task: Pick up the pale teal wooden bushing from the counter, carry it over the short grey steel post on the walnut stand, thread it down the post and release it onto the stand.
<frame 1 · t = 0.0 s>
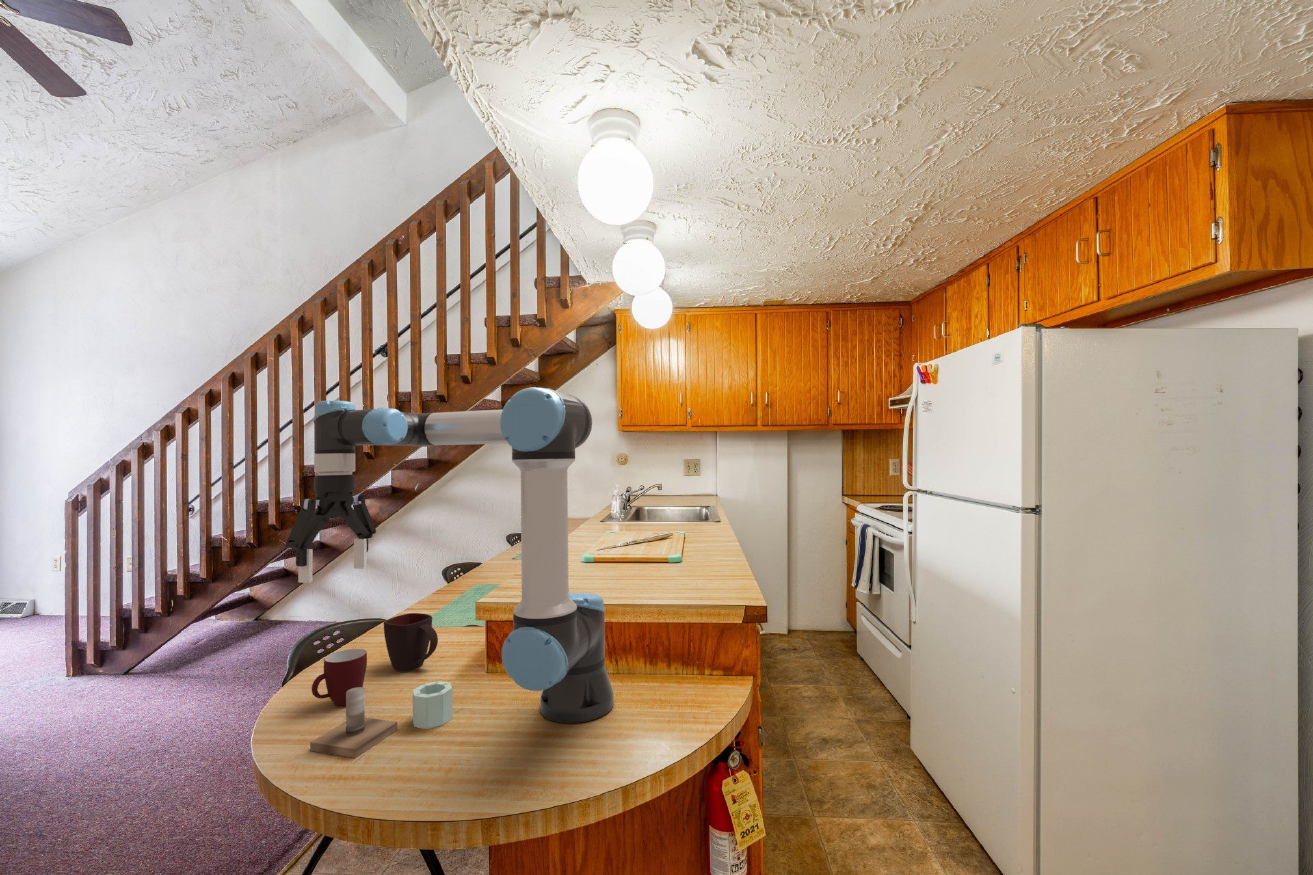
hand: (334, 574, 112), 28 cm above the counter, fingers open, 13 cm apart
ring: (432, 719, 106), on the counter
post stand: (355, 739, 99), on the counter
mug 2: (414, 669, 133), on the counter
mug: (339, 705, 114), on the counter
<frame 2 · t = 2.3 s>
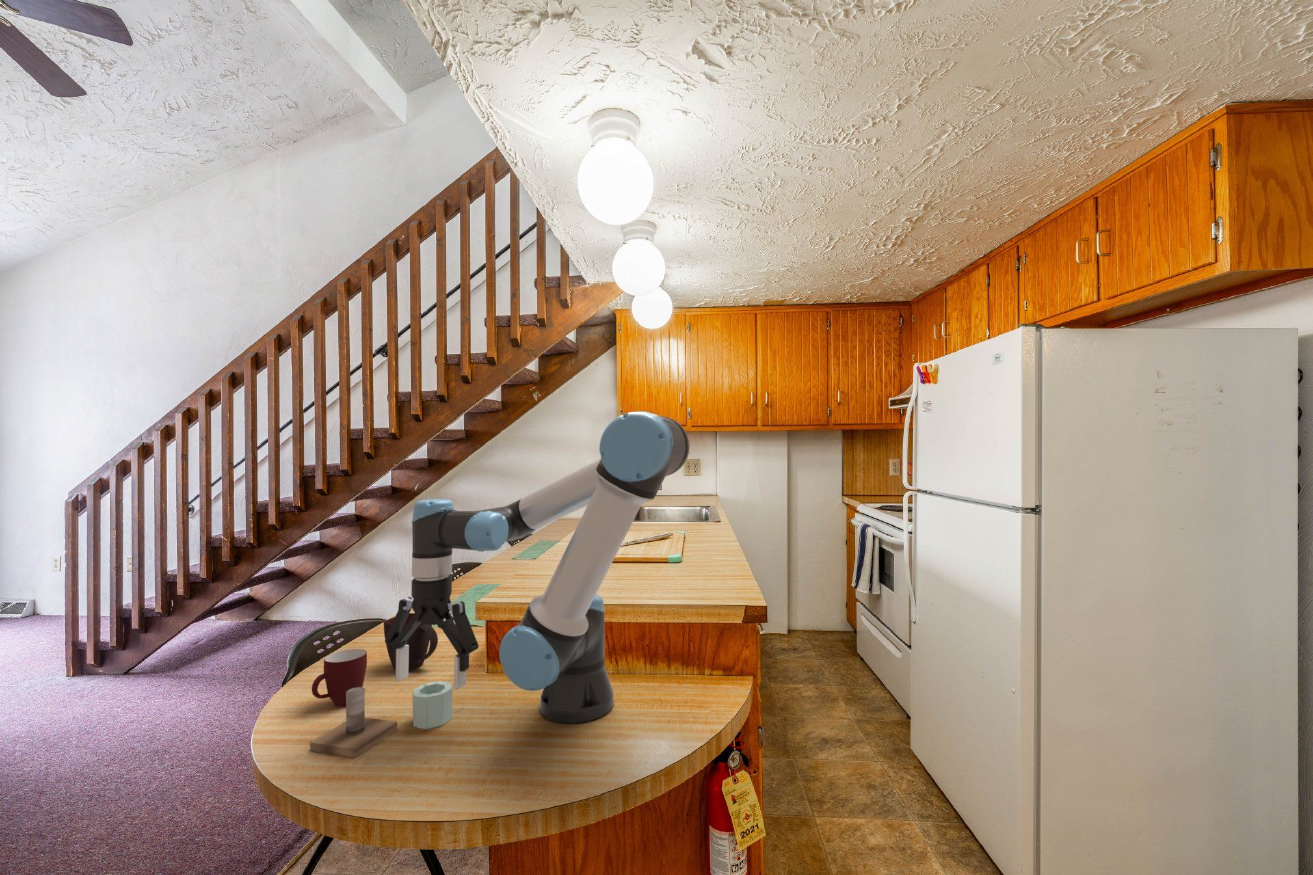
hand: (430, 683, 107), 7 cm above the counter, fingers open, 13 cm apart
nothing on the counter moved.
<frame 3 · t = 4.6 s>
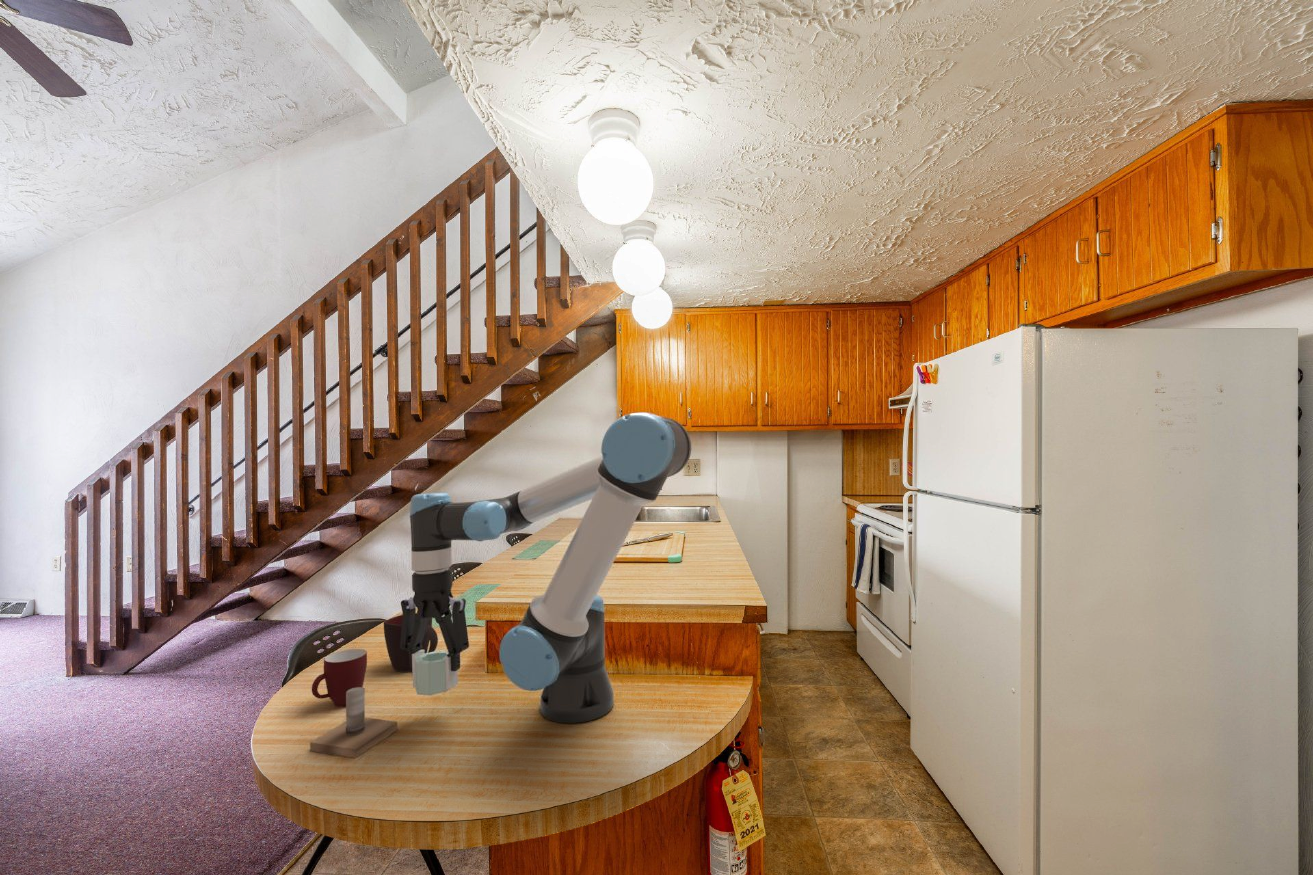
hand: (435, 685, 106), 7 cm above the counter, fingers closed on ring, 7 cm apart
ring: (435, 687, 106), point 6 cm above the counter, touching gripper
everything else where it was.
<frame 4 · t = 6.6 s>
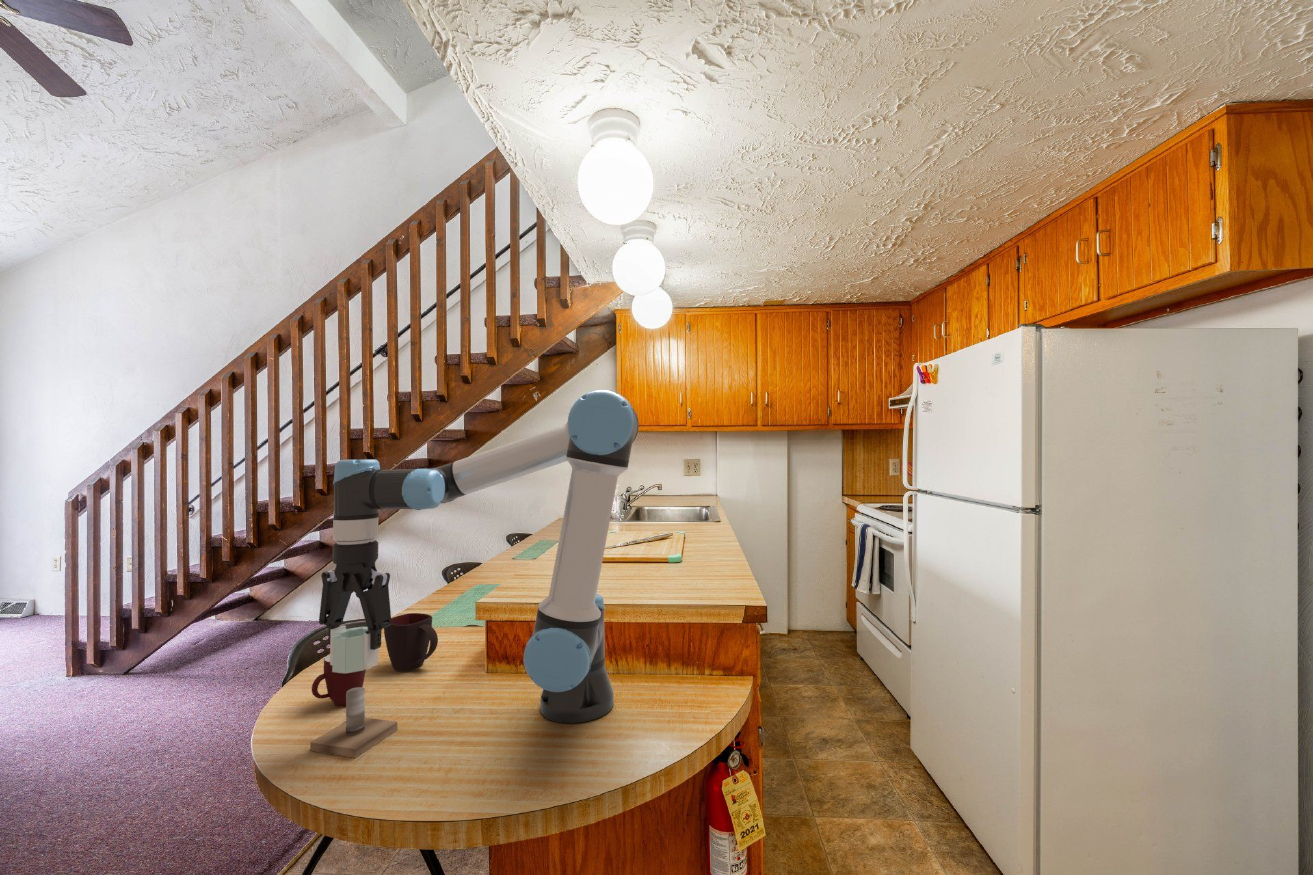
hand: (354, 664, 100), 14 cm above the counter, fingers closed on ring, 7 cm apart
ring: (354, 665, 100), point 14 cm above the counter, touching gripper
everything else where it was.
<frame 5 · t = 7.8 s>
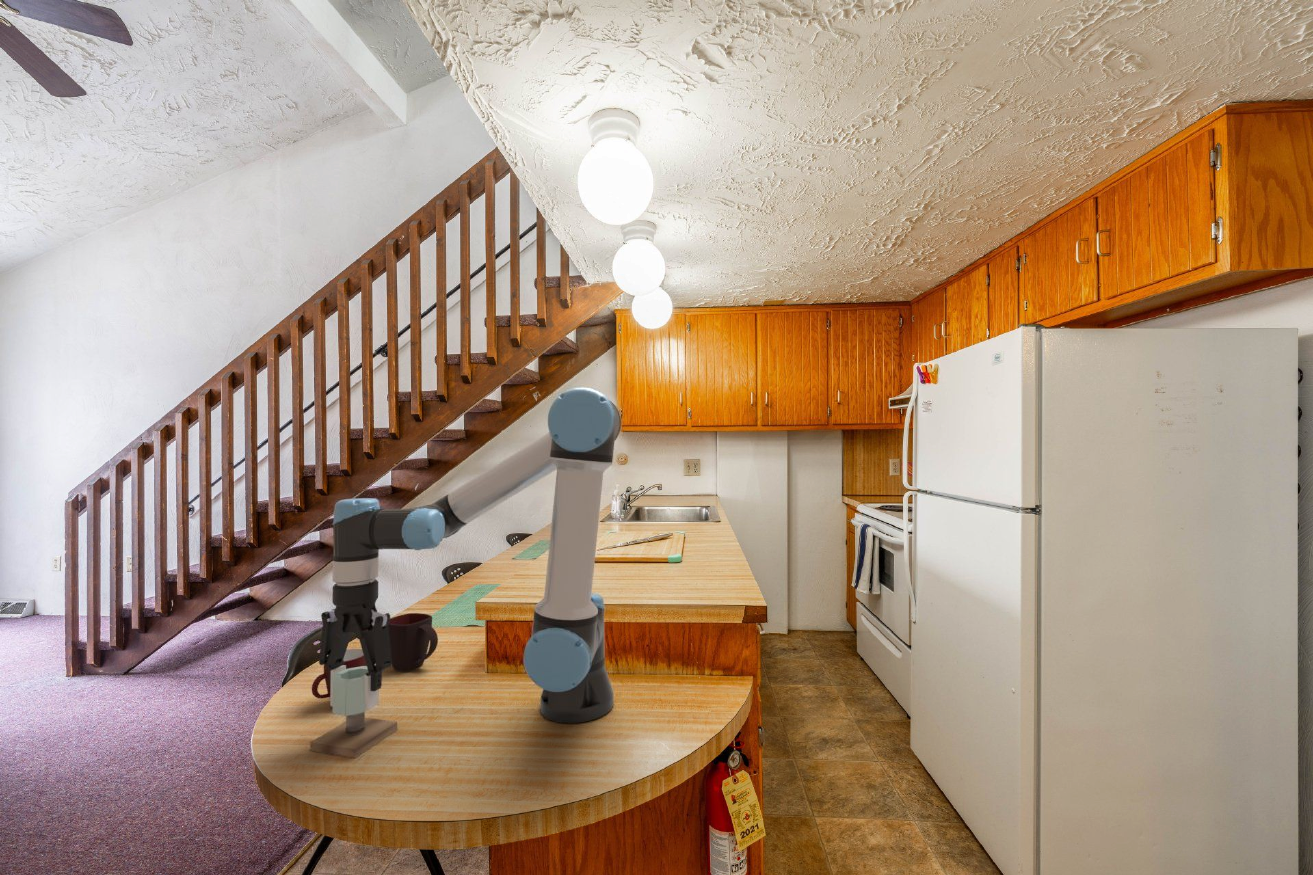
hand: (354, 704, 99), 6 cm above the counter, fingers closed on ring, 7 cm apart
ring: (354, 706, 99), point 6 cm above the counter, touching gripper
everything else where it was.
when the fingers open (4 cm above the counter, at t = 8.7 s): ring drops 2 cm, resting on post stand.
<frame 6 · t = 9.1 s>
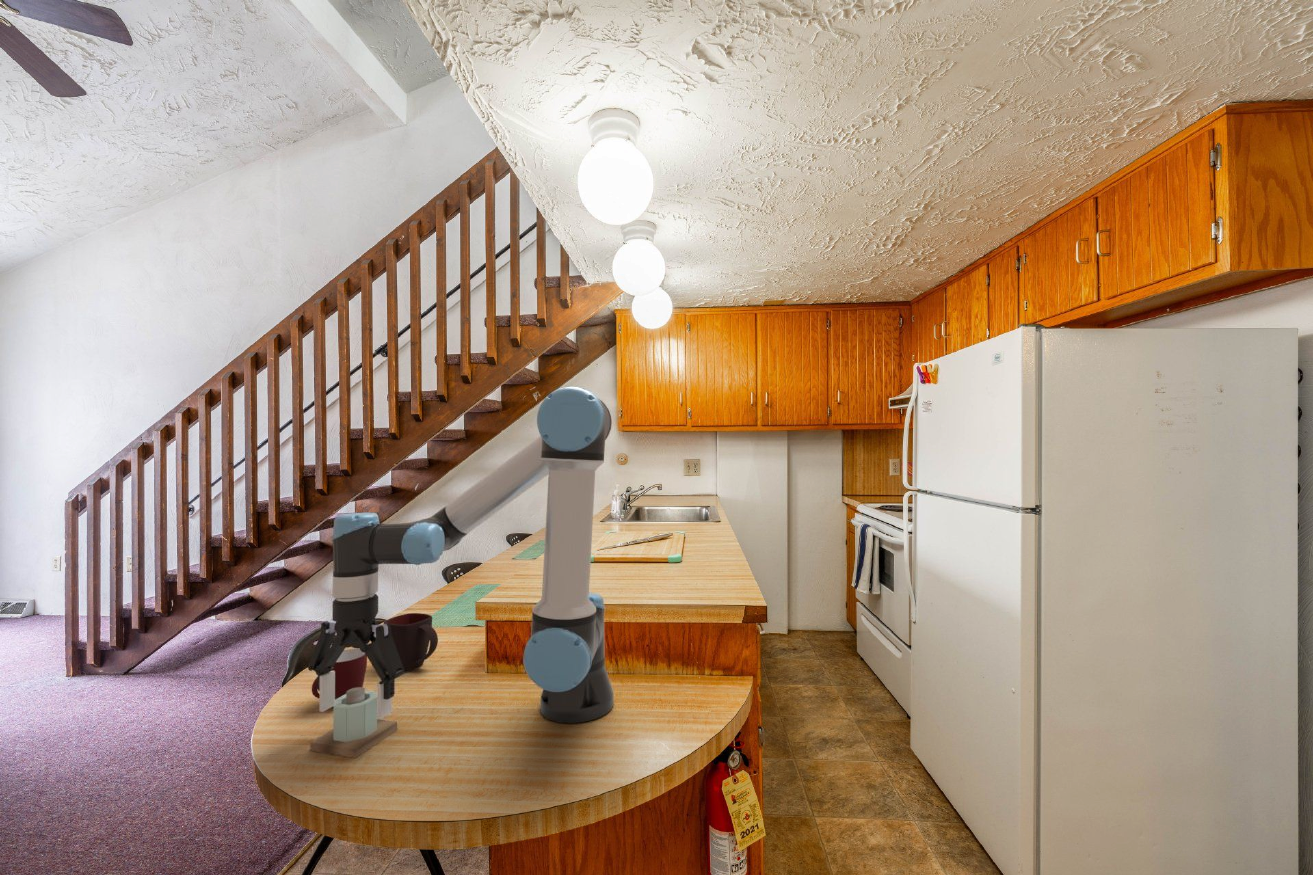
hand: (355, 712, 99), 5 cm above the counter, fingers open, 12 cm apart
ring: (355, 731, 99), point 1 cm above the counter, touching post stand
everything else where it was.
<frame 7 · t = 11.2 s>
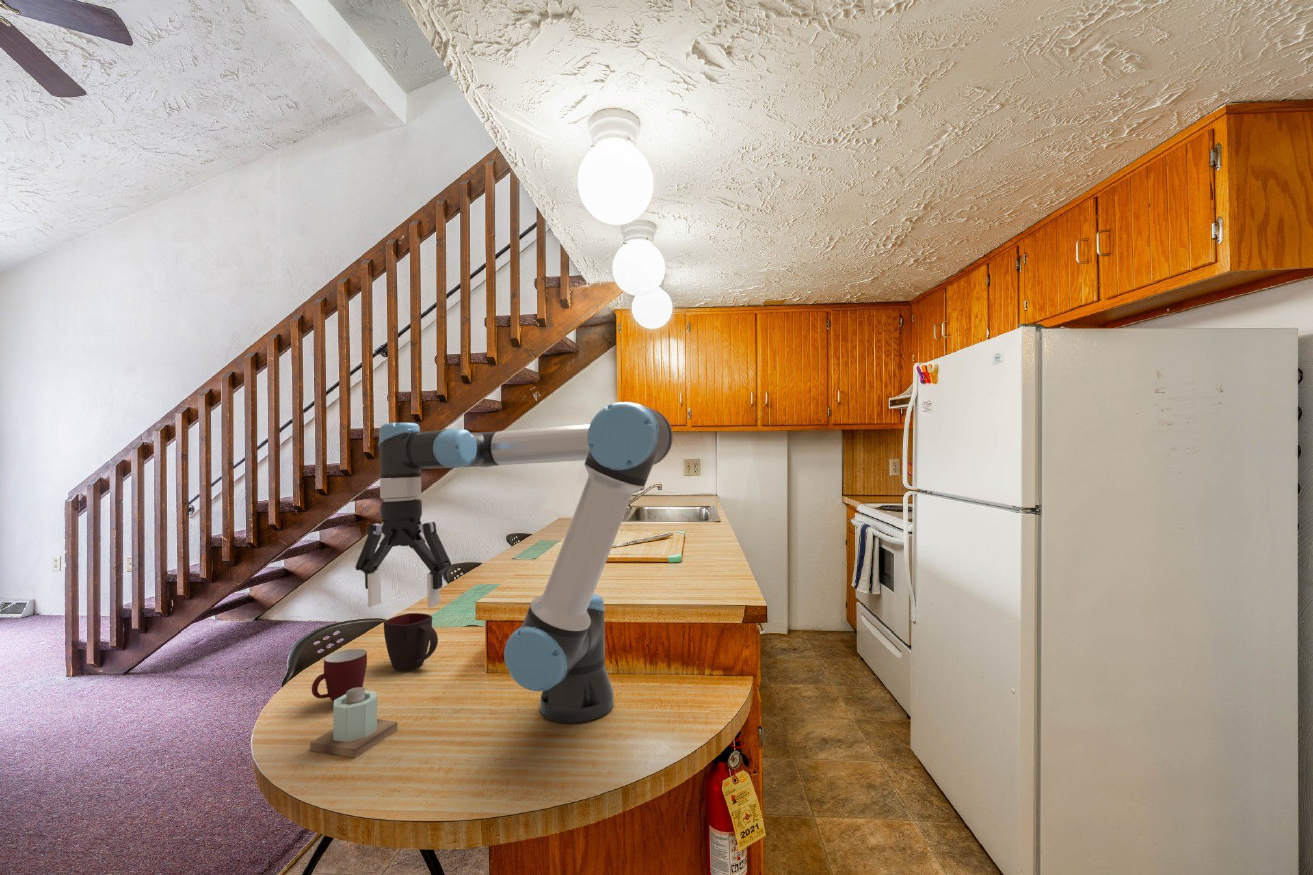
hand: (403, 605, 107), 23 cm above the counter, fingers open, 13 cm apart
nothing on the counter moved.
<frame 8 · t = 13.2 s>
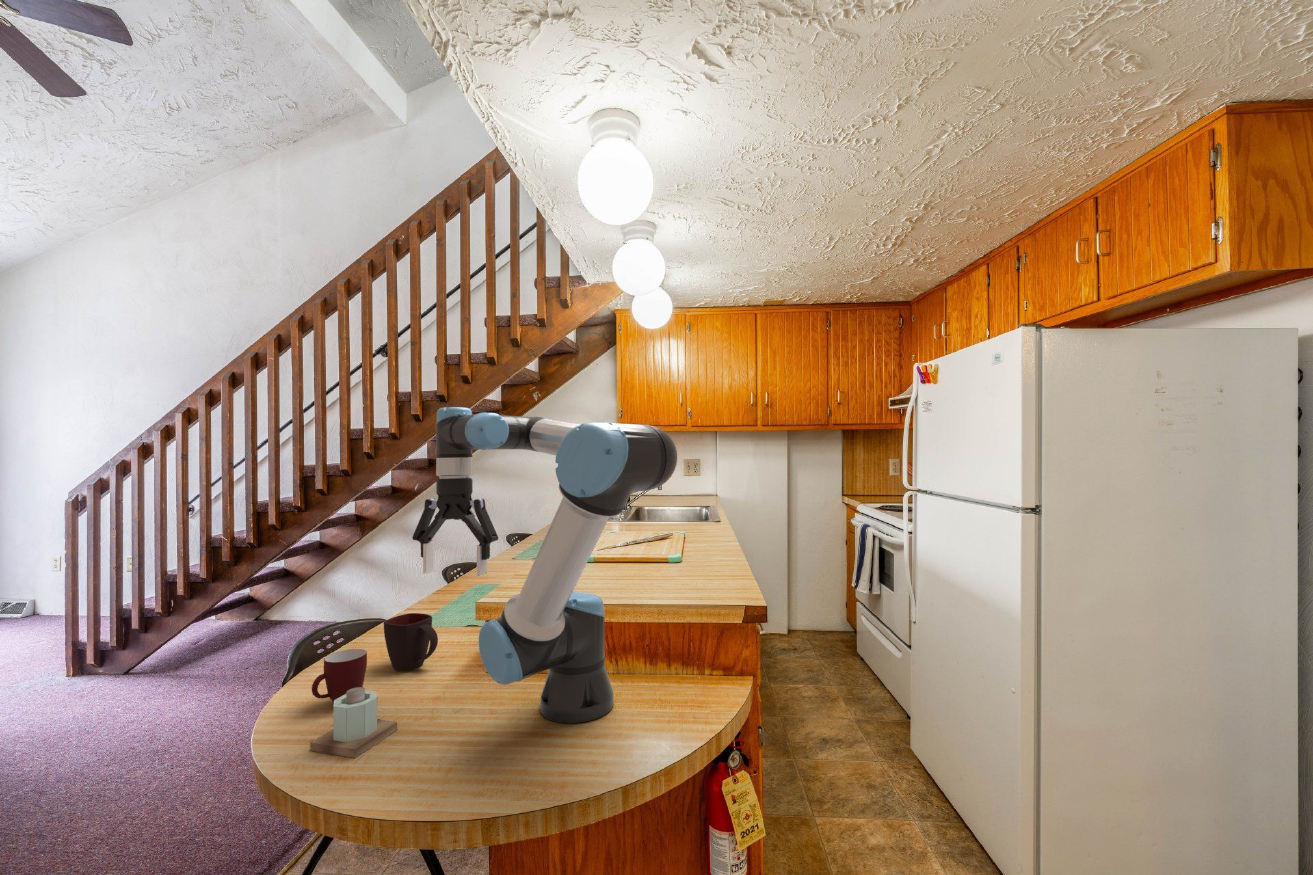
hand: (454, 573, 118), 27 cm above the counter, fingers open, 13 cm apart
nothing on the counter moved.
at the end: ring 0.0 cm off-centre on the post stand, point 1.5 cm above the post stand's base; the gripper is holding nothing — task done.
